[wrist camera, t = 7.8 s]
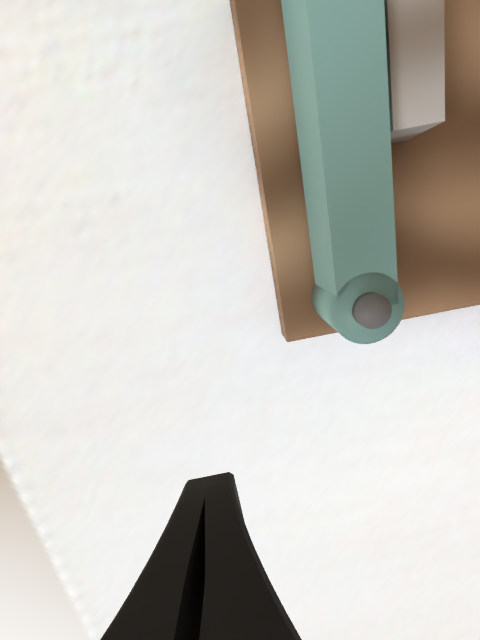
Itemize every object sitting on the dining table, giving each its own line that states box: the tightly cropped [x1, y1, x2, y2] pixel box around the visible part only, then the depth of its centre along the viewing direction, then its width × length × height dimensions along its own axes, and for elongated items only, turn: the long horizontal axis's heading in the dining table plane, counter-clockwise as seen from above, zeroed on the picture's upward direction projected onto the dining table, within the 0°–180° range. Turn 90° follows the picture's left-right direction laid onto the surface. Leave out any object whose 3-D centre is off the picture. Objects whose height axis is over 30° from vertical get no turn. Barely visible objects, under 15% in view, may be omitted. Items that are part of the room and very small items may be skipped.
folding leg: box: [281, 0, 405, 344], centre depth 12 cm, size 14×3×4 cm, turn 10°
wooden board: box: [230, 0, 480, 342], centre depth 14 cm, size 16×18×4 cm
